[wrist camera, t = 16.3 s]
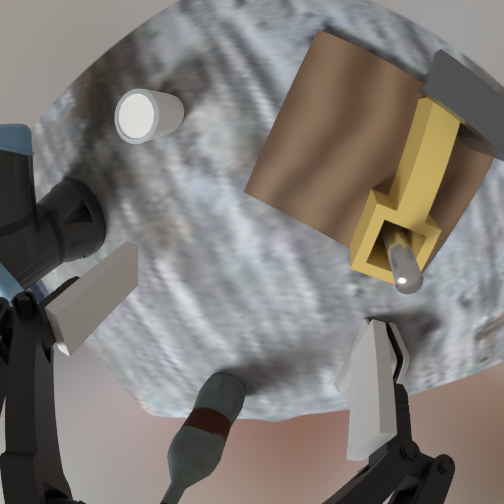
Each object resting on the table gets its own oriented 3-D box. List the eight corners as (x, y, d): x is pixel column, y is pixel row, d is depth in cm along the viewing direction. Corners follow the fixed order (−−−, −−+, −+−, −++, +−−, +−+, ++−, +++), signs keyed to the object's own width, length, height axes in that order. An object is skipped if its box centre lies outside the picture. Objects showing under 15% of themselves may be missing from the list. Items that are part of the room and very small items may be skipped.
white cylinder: (186, 85, 33) (155, 82, 27) (191, 134, 36) (161, 140, 30) (144, 95, 35) (111, 96, 29) (149, 141, 38) (117, 148, 32)
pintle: (374, 225, 34) (389, 285, 22) (385, 209, 33) (406, 262, 21) (390, 235, 34) (411, 298, 22) (401, 219, 33) (428, 276, 21)
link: (401, 91, 25) (414, 86, 20) (458, 118, 24) (480, 120, 19) (349, 245, 35) (350, 268, 29) (402, 264, 34) (410, 290, 28)
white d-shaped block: (365, 316, 40) (391, 366, 31) (391, 315, 40) (419, 362, 32) (334, 384, 48) (347, 430, 39) (356, 382, 48) (372, 425, 40)
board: (247, 189, 37) (243, 192, 36) (319, 32, 26) (318, 29, 24) (410, 279, 36) (412, 285, 34) (495, 143, 24) (500, 144, 23)
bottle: (242, 403, 58) (189, 521, 32) (203, 387, 59) (141, 499, 33) (254, 382, 53) (195, 519, 28) (211, 364, 54) (138, 492, 29)
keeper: (391, 99, 27) (422, 89, 15) (404, 72, 25) (441, 49, 13) (465, 151, 26) (522, 174, 15) (478, 125, 24) (539, 136, 13)
